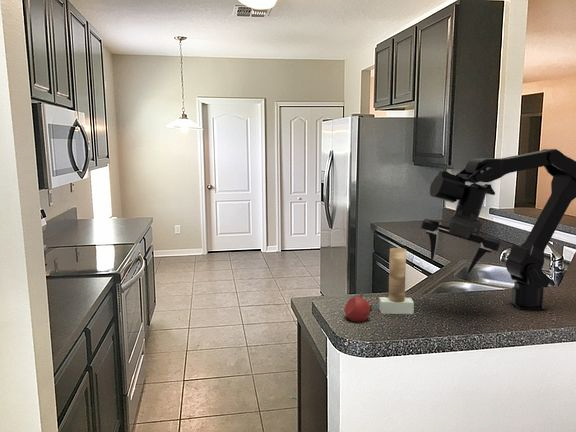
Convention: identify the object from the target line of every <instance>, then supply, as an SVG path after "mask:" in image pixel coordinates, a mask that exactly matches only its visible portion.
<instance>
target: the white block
mask: <svg viewBox="0 0 576 432" xmlns="http://www.w3.org/2000/svg"><path fill="white" fill-rule="evenodd" d="M378 305H379V306H378V309H379V311H380V314H384V315H386V314H387V315H414V311H415V309H414V308H415V307H414V305H415V302H414V301H413V299H412V297H405V301H404V302H392V301H389V296H388V297H386V296H385V297H383V296H380V297H378Z"/></svg>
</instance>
